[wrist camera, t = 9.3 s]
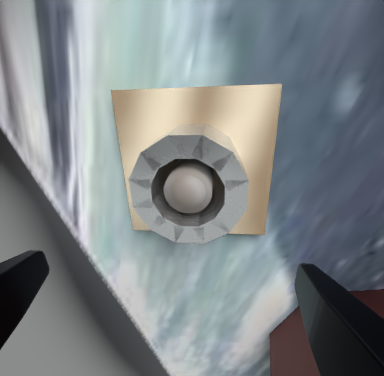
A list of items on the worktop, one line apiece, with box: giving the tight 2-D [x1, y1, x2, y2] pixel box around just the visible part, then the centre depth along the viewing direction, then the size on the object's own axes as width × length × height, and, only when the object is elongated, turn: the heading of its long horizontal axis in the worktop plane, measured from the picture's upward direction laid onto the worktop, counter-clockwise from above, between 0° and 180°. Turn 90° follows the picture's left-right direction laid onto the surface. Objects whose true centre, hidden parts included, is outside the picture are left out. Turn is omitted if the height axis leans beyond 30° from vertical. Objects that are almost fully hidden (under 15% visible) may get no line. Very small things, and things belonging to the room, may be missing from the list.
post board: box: [111, 84, 282, 235], centre depth 16 cm, size 12×12×6 cm
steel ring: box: [129, 123, 249, 244], centre depth 15 cm, size 7×7×5 cm
